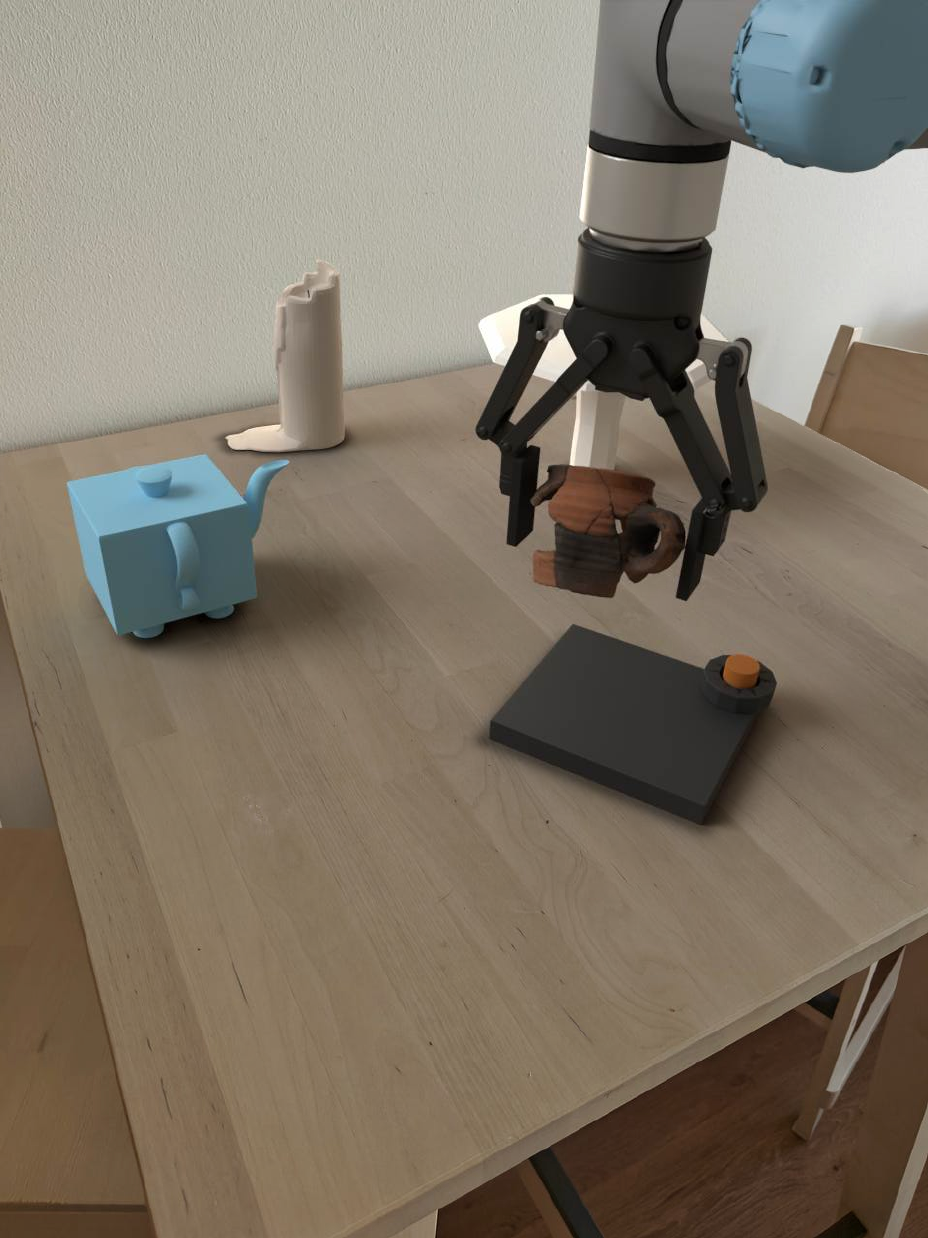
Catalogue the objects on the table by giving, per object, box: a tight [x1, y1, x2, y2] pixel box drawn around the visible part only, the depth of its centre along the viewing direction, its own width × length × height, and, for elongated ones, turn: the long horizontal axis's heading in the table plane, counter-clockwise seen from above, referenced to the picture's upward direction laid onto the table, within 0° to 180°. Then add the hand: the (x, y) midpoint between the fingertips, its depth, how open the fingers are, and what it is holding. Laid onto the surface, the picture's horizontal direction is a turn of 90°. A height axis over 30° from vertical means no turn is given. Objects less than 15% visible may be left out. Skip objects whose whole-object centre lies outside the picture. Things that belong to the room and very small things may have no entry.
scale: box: [488, 623, 778, 825], centre depth 79 cm, size 18×16×4 cm
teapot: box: [66, 453, 290, 639], centre depth 88 cm, size 18×16×13 cm
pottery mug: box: [531, 463, 687, 599], centre depth 68 cm, size 12×10×8 cm
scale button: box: [723, 653, 760, 689], centre depth 79 cm, size 3×3×2 cm
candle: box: [225, 259, 346, 453], centre depth 113 cm, size 7×14×20 cm, turn 105°
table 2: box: [477, 293, 731, 470], centre depth 110 cm, size 28×28×17 cm
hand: (600, 563), depth 69 cm, fingers closed on pottery mug, 12 cm apart
